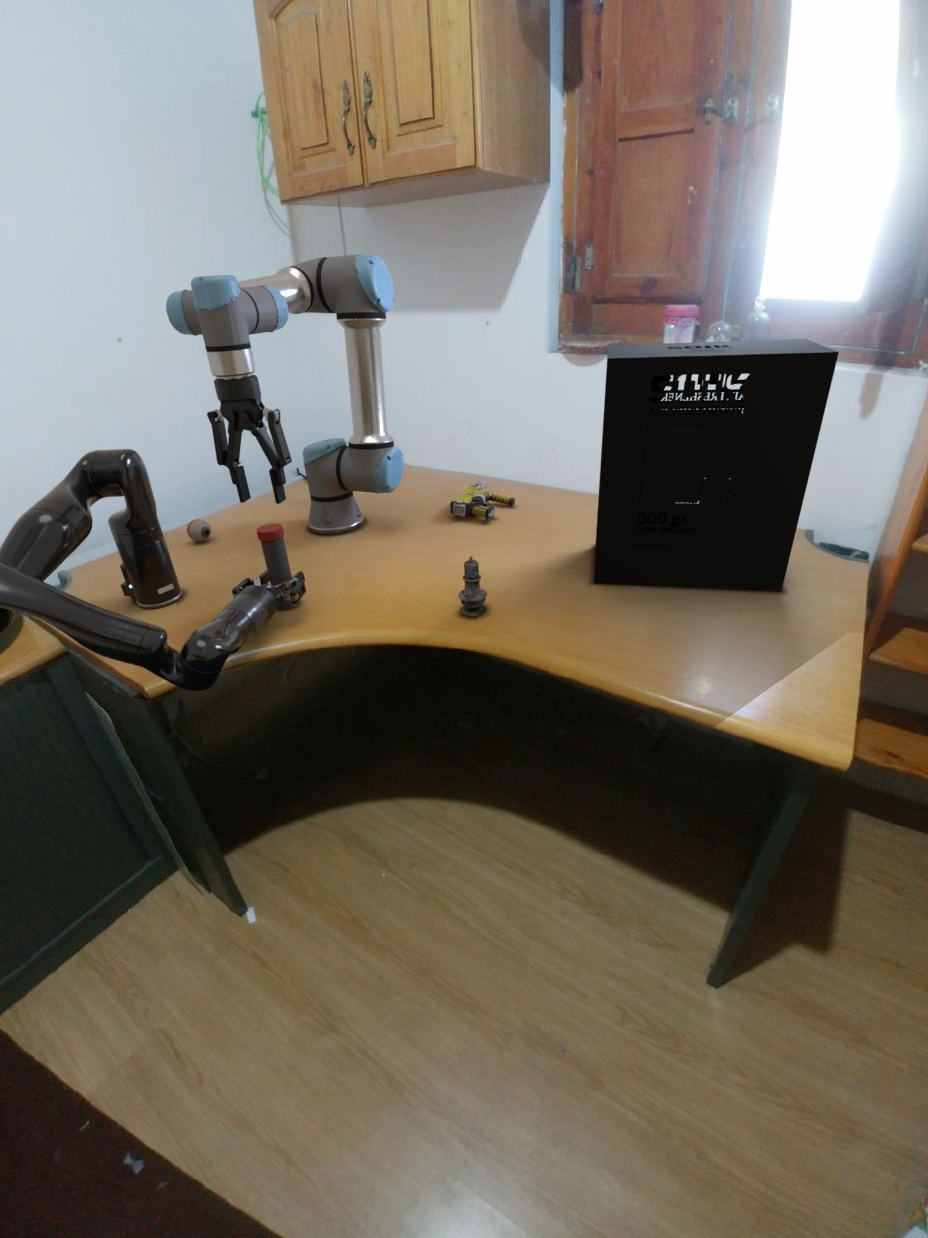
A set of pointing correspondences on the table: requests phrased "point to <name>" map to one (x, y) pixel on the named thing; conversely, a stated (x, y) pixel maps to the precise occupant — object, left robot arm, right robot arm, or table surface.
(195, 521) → the eyeball
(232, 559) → the table surface
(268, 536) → the lid
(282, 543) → the bottle
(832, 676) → the table surface
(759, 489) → the cardboard box
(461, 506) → the toy gun
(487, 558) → the table surface
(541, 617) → the table surface
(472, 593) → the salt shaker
